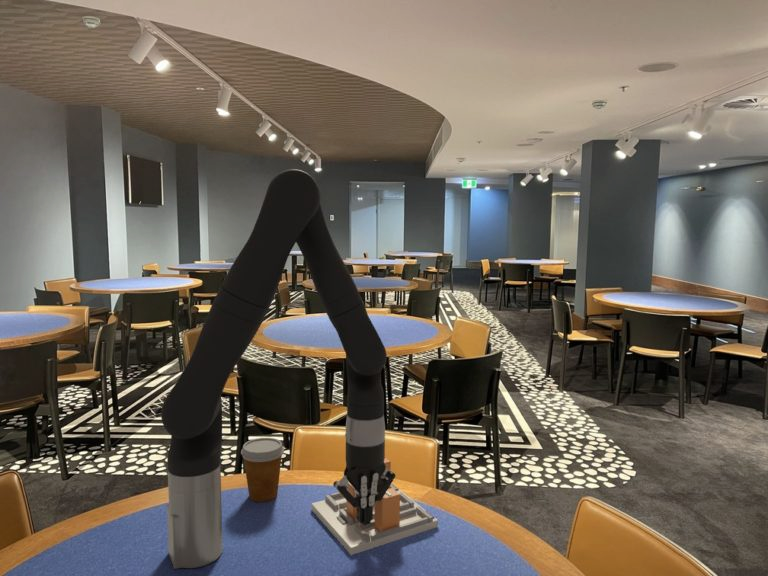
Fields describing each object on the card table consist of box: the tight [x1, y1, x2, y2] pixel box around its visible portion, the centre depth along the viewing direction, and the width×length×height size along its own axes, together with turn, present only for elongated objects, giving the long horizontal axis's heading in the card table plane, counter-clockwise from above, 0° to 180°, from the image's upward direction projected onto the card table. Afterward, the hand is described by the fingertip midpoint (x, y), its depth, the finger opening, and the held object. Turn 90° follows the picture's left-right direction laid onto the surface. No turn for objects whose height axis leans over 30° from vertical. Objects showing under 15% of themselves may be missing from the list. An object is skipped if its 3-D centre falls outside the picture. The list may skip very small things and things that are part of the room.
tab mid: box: [347, 481, 357, 520], centre depth 115 cm, size 4×3×7 cm
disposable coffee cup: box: [240, 437, 285, 503], centre depth 126 cm, size 10×10×12 cm
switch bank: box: [310, 483, 439, 556], centre depth 117 cm, size 20×19×2 cm
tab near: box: [375, 488, 400, 531], centre depth 110 cm, size 4×3×7 cm
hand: (364, 522), depth 108 cm, fingers closed
